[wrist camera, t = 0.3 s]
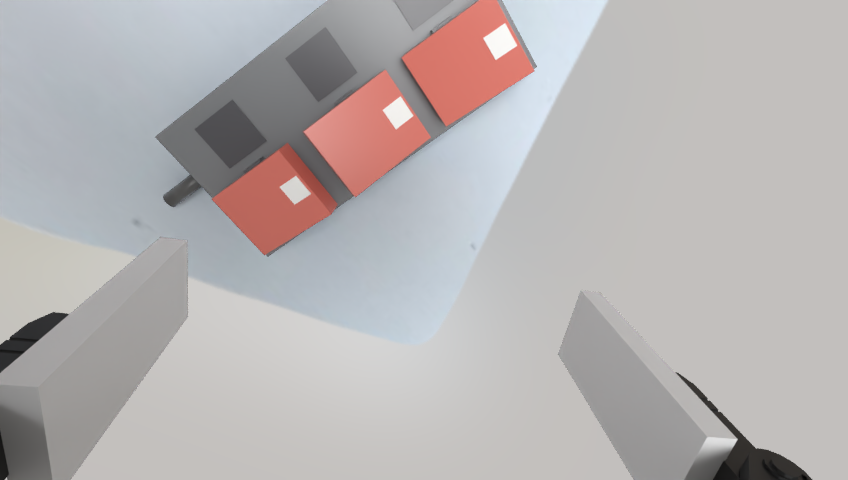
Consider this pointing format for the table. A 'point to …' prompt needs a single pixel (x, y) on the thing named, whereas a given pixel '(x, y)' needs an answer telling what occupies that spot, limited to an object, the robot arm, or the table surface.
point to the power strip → (307, 91)
